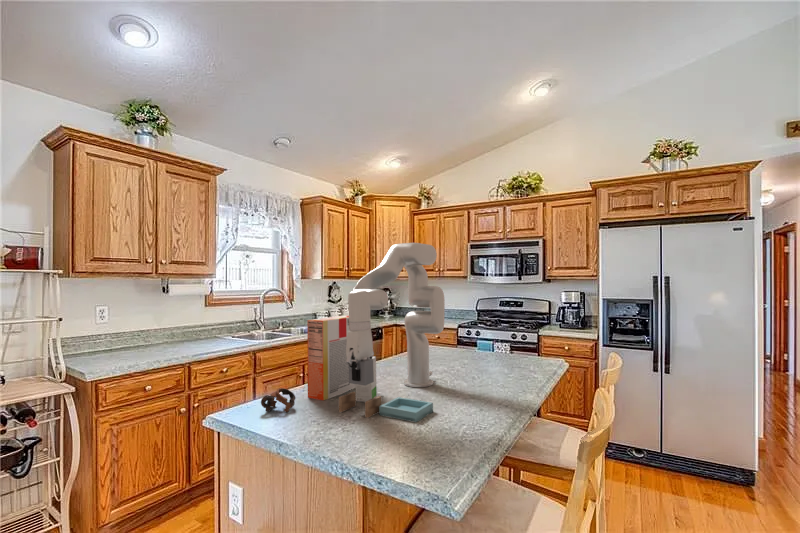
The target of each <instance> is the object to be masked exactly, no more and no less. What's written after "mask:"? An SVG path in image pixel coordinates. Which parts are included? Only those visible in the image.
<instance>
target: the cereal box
mask: <svg viewBox="0 0 800 533" xmlns="http://www.w3.org/2000/svg"><path fill="white" fill-rule="evenodd" d="M306 323H307V398H308V399H314V400H319V401H326V400H329V399H332V398H334V397H337V396H339V395H342V394H344V393H347V392H349V391H348V390H350V391H352V390H354V389H353V388H355V389H356V384H352V383H349V367H348V364H347V363H346V360H347V358H346V344H347V335H348V331H349V315H346V314H345V315H339V316H337V315H336V316H329V317H328V316H327V317H321V318H314V319H313V318H312V319H307V322H306ZM351 389H352V390H351ZM346 391H347V392H346ZM341 393H342V394H341Z"/></svg>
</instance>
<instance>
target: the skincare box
mask: <svg viewBox="0 0 800 533" xmlns="http://www.w3.org/2000/svg"><path fill="white" fill-rule="evenodd" d="M376 357H377V356H373V357H372V359H373V373H374V382H372V383H370V384H368V385H366V386H365V385H358V384H356V388H355V392H356V402H359V403H361V402H362V403H365V402H366V401H368V400H370V399H373V398H375V397H377V396H378V395H377V394H378V392H377V390H378V389H377V388H378V387H377V358H376Z"/></svg>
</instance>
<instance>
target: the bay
mask: <svg viewBox="0 0 800 533" xmlns="http://www.w3.org/2000/svg"><path fill="white" fill-rule="evenodd" d="M382 400H383V399H382V396H381V395H377V397H375V398H373V399H370V400H368V401H366V402H364V418H367V419H368V418H371V417H372V416H374V415H377V414H378V413H379V406H381V405H383V403H382ZM356 406H357V401H356V391H351V392H349V393H346V394H344V395H340V396H338V412H339V413H343V412H346V411H348V410H350V409H353V408H355V407H356ZM352 407H353V408H352Z"/></svg>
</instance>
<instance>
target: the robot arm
mask: <svg viewBox="0 0 800 533" xmlns="http://www.w3.org/2000/svg"><path fill="white" fill-rule="evenodd" d="M437 256H438V255H437V249H436V248H435V247H434V246H433V245H431V244H427V243H420V242H402V243H401V242H400V243H396V244H395V243H394V244H393V245H391V246H390V248H389V249H388V251H387V253H386V254H385V256H384V257H383V259H382V261H381V262H380V263H379V265H378V266H377V267H376V268H374V269H373V270H370V271H369V272H368V273H367V274H365V275H363V276H362V277H361V278H360V279H359V280H358V282H357V283H356V285H355V286H354V287H353V289H352V291H350V292H349V293H348V297H347V300H348V303H347V304H348V305H347V306H348V316H349V331H348V335H347V344H346V358H347V360H346V363H347V364H349V366H350V368H351V369H352V380H353V381H360V369H359V364H360V360H363V359H364V357H367V358H369V359H372V357H374V355H375V352H374V349H373V348H374V344H373V334H372V329H371V328H372V327H371V326H372V325H371V324H372V323H371V310H373V311H374V310H375V311H377V310H378V311H380V310H382V309H384V308H385V307H386V306H387V305H388V302H389V296H388V294H387V291H385V290H383V289H379V287H382V286H385V285H388V284H391V283H393V282H395V281H396V280H397V279H398V277H399V275H400V273H401V272H402V270H403V268H405V270H406V273H407V276H408V280H407V281H408V287H407V288H408V292H407V293H408V296H407V297H408V303H409V305H410V307H413V308H419V309H421V308H422V309H430V310H411V311H409V312H407V313H406V315H405V317H404V328H405V334H406V354H407V355H406V363H407V364H406V365H407V375H406V376H407V378H406V379H405V380H404V381H403V384H404V386H406V387H409V388H410V387H411V388H426V387H431V386H432V385H433V384H434V381H433V380H432V379H430V376H433V371H432V370H430V343H429V340H428V337H427V335H426V334H429V335H432V334H433V335H438V334H439V335H440V334H441V333H442V332H443V330H444V328H445V308H446V307H445V294H444V293H445V292H444V291H443V289H442V288H441V287H440V286H437V285H429V283H428V282H429V279H428V272H427V270H426V268H424V266H431V265H433V264H434V263H435V262H436V260H437ZM354 362H356V364H355V363H354Z"/></svg>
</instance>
